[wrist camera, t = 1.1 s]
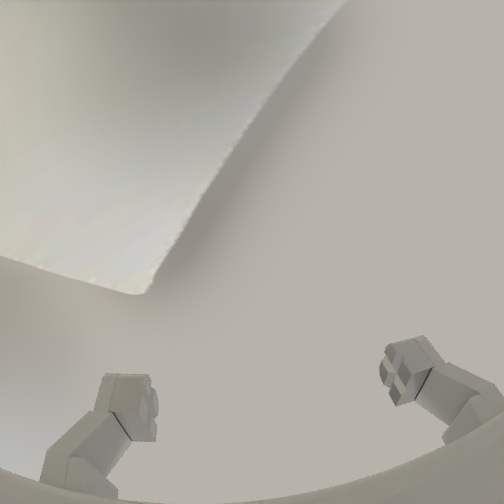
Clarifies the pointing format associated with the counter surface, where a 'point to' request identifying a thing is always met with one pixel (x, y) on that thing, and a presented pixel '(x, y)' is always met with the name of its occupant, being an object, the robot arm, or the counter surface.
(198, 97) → the counter surface
